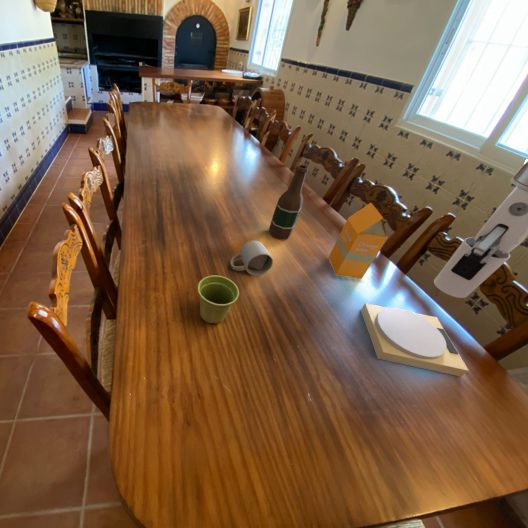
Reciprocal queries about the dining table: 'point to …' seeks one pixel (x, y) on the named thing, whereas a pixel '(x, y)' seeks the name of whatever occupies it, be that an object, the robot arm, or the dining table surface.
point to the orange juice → (358, 243)
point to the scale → (412, 340)
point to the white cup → (460, 285)
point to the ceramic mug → (253, 258)
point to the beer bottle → (288, 206)
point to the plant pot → (216, 297)
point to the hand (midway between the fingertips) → (467, 269)
